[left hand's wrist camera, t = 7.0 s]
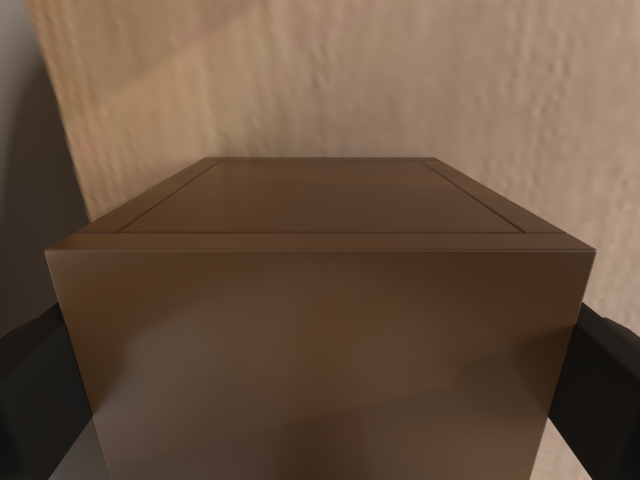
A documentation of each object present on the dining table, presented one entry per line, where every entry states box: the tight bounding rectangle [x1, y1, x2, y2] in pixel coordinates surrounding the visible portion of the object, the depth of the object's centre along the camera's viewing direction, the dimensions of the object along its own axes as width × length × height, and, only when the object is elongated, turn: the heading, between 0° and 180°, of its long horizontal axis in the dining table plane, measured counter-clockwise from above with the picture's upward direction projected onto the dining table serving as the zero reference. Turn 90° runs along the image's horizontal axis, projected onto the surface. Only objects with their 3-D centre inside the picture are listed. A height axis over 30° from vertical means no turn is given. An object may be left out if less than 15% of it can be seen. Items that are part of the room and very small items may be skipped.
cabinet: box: [44, 158, 597, 480], centre depth 16 cm, size 17×11×12 cm, turn 0°
